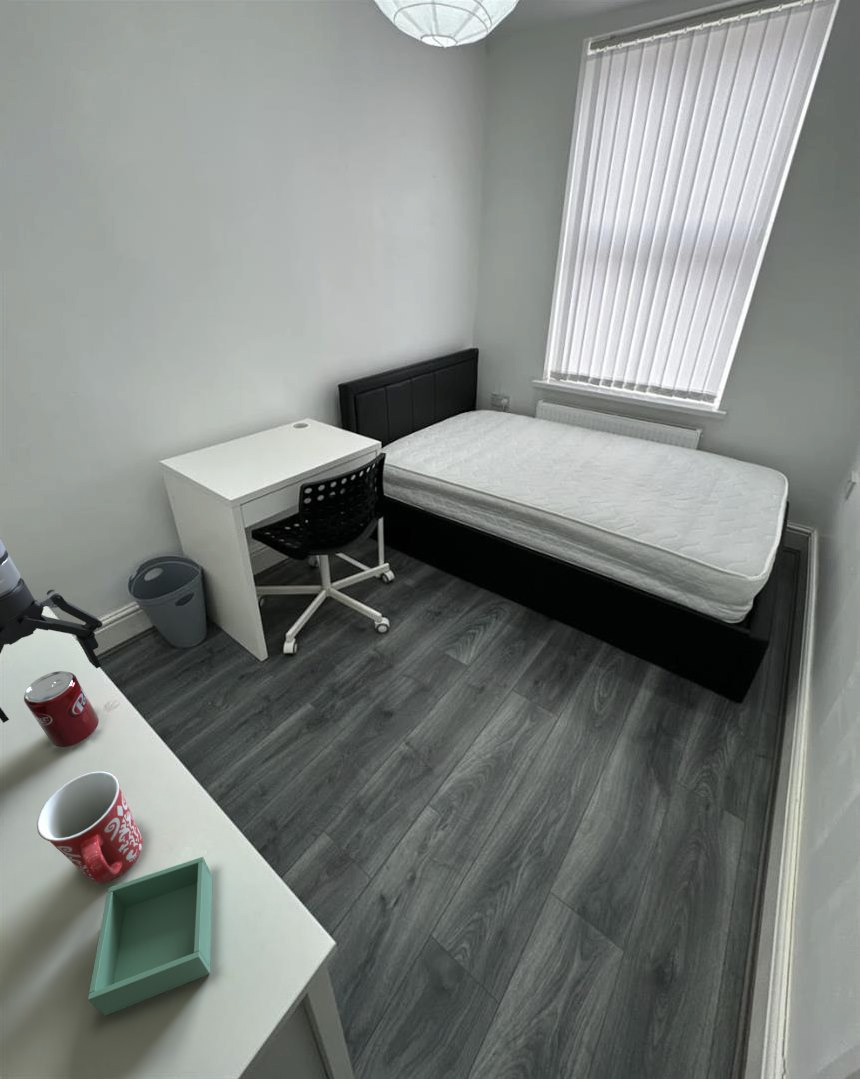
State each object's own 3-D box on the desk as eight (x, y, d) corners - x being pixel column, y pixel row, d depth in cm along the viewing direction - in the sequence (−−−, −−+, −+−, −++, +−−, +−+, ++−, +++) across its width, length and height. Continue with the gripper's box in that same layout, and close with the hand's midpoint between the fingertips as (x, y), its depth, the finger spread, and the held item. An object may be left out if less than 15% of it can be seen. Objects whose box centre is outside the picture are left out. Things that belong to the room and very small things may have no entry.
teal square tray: (122, 906, 64) (108, 887, 61) (212, 875, 67) (203, 856, 64) (105, 1015, 55) (87, 1000, 52) (210, 973, 58) (198, 956, 55)
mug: (74, 846, 70) (35, 795, 62) (143, 810, 74) (114, 758, 67) (82, 933, 61) (38, 885, 54) (159, 886, 66) (128, 836, 58)
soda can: (54, 757, 81) (24, 711, 75) (49, 728, 86) (20, 683, 80) (103, 734, 85) (78, 688, 79) (96, 707, 90) (71, 662, 83)
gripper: (-125, 652, 58) (-34, 756, 69) (95, 557, 75) (138, 653, 86) (-139, 626, 61) (-51, 730, 73) (73, 542, 78) (118, 636, 90)
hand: (52, 689), depth 79 cm, fingers open, 13 cm apart
